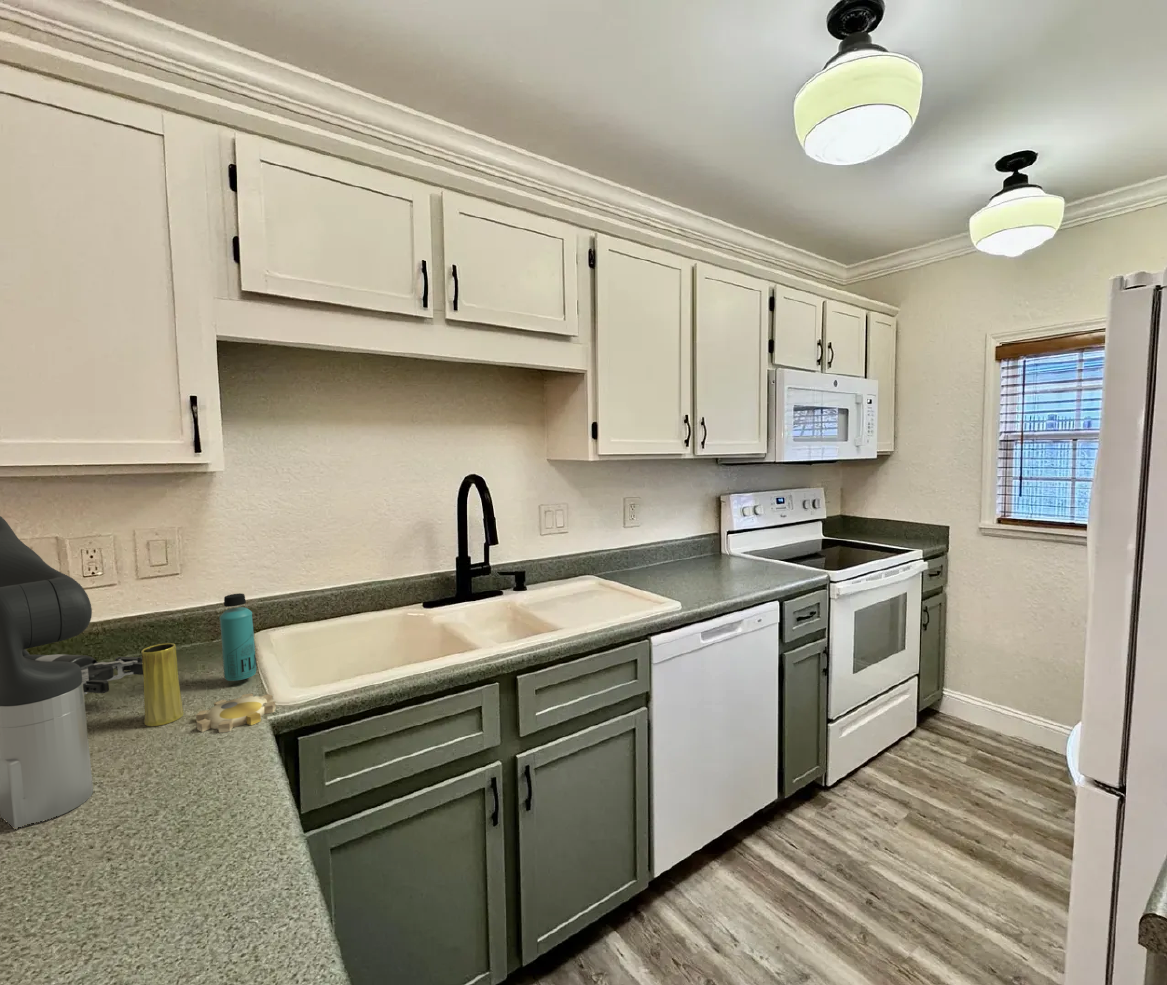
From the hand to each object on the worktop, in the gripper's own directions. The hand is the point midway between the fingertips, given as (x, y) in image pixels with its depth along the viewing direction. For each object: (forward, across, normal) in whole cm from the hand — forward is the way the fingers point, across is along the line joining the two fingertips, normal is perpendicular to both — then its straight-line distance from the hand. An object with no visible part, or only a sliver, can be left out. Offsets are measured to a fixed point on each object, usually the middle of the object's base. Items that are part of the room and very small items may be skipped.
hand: (129, 677), depth 107 cm
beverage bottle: (+8, +18, +8) cm, 21 cm away
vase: (+7, 0, +8) cm, 11 cm away
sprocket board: (+21, +3, +8) cm, 22 cm away
